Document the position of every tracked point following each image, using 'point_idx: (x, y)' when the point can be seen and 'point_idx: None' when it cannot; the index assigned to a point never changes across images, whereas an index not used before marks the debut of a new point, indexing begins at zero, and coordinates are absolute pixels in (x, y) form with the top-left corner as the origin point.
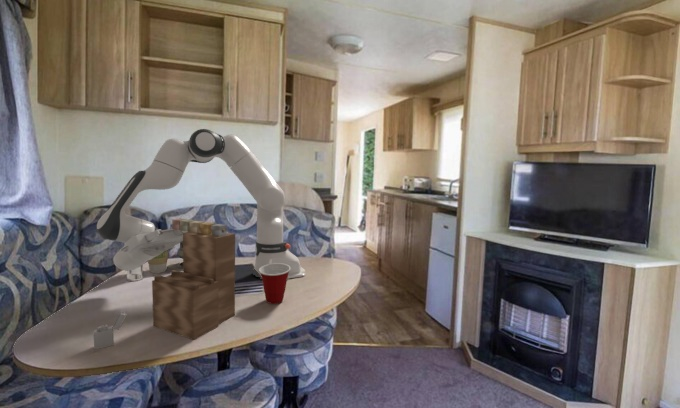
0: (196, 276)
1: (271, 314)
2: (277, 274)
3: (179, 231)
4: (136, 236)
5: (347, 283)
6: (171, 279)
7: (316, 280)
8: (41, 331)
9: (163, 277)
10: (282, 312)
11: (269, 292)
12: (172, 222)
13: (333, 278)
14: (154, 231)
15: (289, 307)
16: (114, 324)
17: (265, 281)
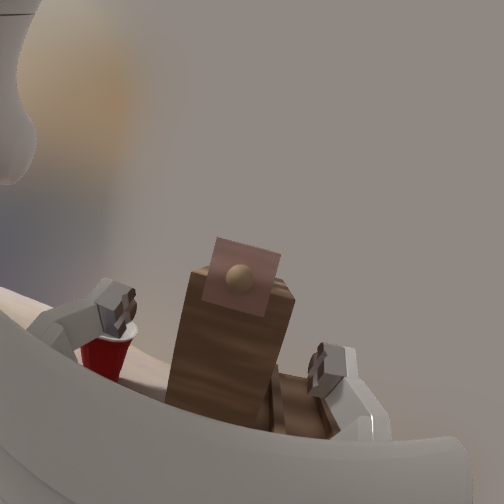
0: (278, 384)
1: (160, 387)
2: (135, 326)
3: (70, 350)
4: (448, 438)
5: (42, 306)
6: (329, 408)
7: (17, 321)
8: None
9: (335, 425)
10: (150, 376)
11: (121, 367)
12: (275, 273)
13: (17, 308)
14: (356, 372)
15: (129, 368)
16: None
17: (122, 352)
